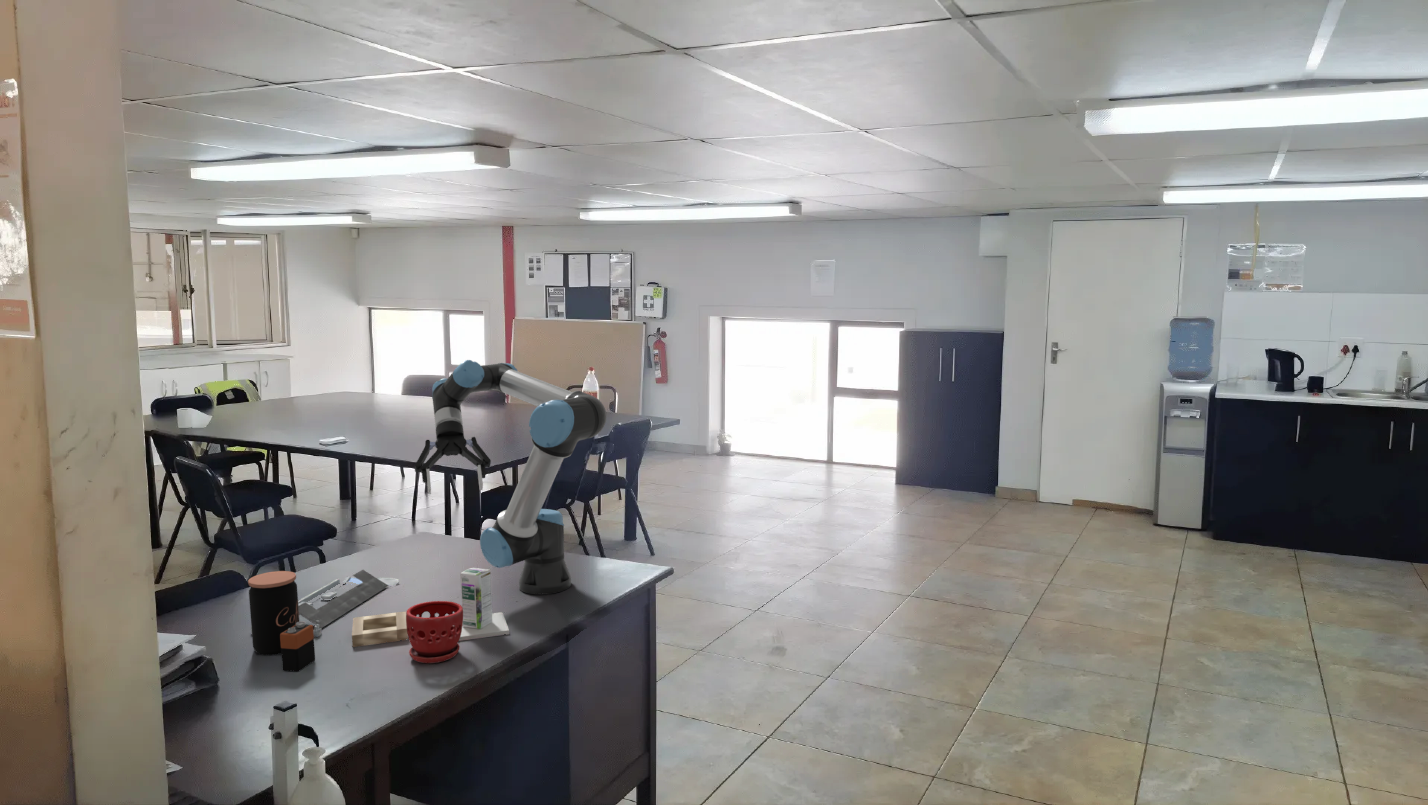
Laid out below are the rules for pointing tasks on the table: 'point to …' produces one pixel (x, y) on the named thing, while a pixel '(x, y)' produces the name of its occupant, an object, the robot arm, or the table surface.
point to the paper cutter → (341, 599)
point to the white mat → (487, 629)
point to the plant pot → (434, 631)
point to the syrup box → (476, 597)
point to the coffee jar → (272, 609)
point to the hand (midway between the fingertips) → (455, 489)
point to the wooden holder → (379, 629)
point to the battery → (297, 647)
